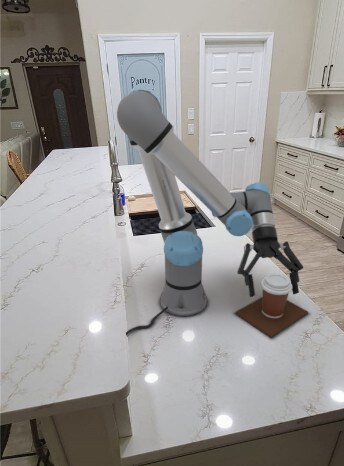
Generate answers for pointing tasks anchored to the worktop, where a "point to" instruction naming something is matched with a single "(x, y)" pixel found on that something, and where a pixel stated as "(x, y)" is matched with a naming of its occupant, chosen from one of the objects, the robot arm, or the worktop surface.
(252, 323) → the brown mat
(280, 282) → the coffee cup
